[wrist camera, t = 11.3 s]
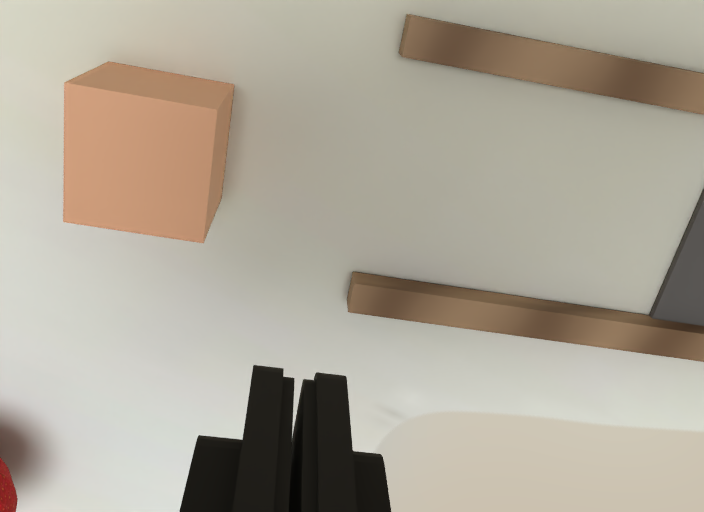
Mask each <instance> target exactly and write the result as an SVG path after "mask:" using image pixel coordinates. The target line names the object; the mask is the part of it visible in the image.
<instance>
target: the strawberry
mask: <svg viewBox="0 0 704 512" xmlns="http://www.w3.org/2000/svg"><path fill="white" fill-rule="evenodd" d="M16 506H17V495H16V490H15V487H14V484H13V481H12V478H11V475H10V472H9V469H8V467H7V466H6V464H5V463H4V462H3V460H2V459H1V458H0V512H16Z"/></svg>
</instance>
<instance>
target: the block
mask: <svg viewBox="0 0 704 512" xmlns="http://www.w3.org/2000/svg"><path fill="white" fill-rule="evenodd" d="M233 92H234V84H229V83H223V82H218V81H212V80H207V79H201V78H196V77H190V76H185V75H179V74H174V73H168V72H163V71H157V70H152V69H146V68H141V67H136V66H130V65H125V64H119V63H114V62H107V63H105V64H102V65H100V66H98V67H96V68H94V69H92V70H90V71H88V72H86V73H83V74H81V75H79V76H77V77H75V78H73V79H71V80H69V81H67V82H65V83H64V208H63V222H67V223H73V224H80V225H87V226H93V227H100V228H106V229H113V230H120V231H126V232H133V233H139V234H146V235H153V236H159V237H166V238H172V239H179V240H186V241H192V242H199V243H204V240H205V238H206V236H207V233H208V231H209V228H210V226H211V223H212V221H213V218H214V216H215V213H216V211H217V208H218V206H219V203H220V201H221V198H222V189H223V180H224V172H225V163H226V154H227V145H228V136H229V127H230V119H231V110H232V101H233Z"/></svg>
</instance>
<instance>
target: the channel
mask: <svg viewBox="0 0 704 512" xmlns="http://www.w3.org/2000/svg"><path fill="white" fill-rule="evenodd" d="M399 54H400V55H401V56H402V57H406V58H411V59H416V60H421V61H427V62H432V63H437V64H442V65H447V66H453V67H458V68H463V69H468V70H474V71H479V72H484V73H489V74H495V75H500V76H505V77H510V78H515V79H521V80H526V81H531V82H536V83H542V84H547V85H552V86H557V87H563V88H568V89H573V90H578V91H583V92H589V93H594V94H599V95H604V96H610V97H615V98H620V99H625V100H630V101H636V102H641V103H646V104H651V105H657V106H662V107H667V108H672V109H678V110H683V111H688V112H693V113H698V114H704V73H700V72H695V71H690V70H685V69H680V68H675V67H670V66H665V65H660V64H655V63H650V62H645V61H640V60H635V59H630V58H625V57H620V56H615V55H610V54H605V53H600V52H595V51H590V50H585V49H580V48H575V47H570V46H565V45H560V44H555V43H550V42H545V41H540V40H535V39H530V38H525V37H520V36H515V35H510V34H505V33H500V32H495V31H490V30H485V29H480V28H475V27H470V26H465V25H460V24H455V23H450V22H445V21H440V20H435V19H430V18H425V17H420V16H415V15H410V14H407V16H406V21H405V25H404V30H403V35H402V40H401V44H400V49H399ZM347 305H348V312H350V313H358V314H365V315H372V316H379V317H386V318H394V319H401V320H408V321H415V322H422V323H429V324H437V325H444V326H451V327H458V328H465V329H473V330H480V331H487V332H494V333H501V334H508V335H516V336H523V337H530V338H537V339H544V340H552V341H559V342H566V343H573V344H580V345H587V346H595V347H602V348H609V349H616V350H623V351H631V352H638V353H645V354H652V355H659V356H666V357H674V358H681V359H688V360H695V361H702V362H704V190H703V193H702V195H701V197H700V200H699V202H698V204H697V206H696V209H695V211H694V213H693V216H692V218H691V220H690V223H689V225H688V227H687V230H686V232H685V234H684V236H683V239H682V241H681V243H680V246H679V248H678V250H677V253H676V255H675V257H674V259H673V262H672V264H671V266H670V269H669V271H668V273H667V276H666V278H665V280H664V283H663V285H662V287H661V289H660V292H659V294H658V296H657V299H656V301H655V303H654V306H653V308H652V310H651V312H650V315H643V314H636V313H629V312H622V311H616V310H609V309H602V308H595V307H589V306H582V305H575V304H568V303H561V302H555V301H548V300H541V299H534V298H527V297H521V296H514V295H507V294H500V293H493V292H487V291H480V290H473V289H466V288H459V287H453V286H446V285H439V284H432V283H426V282H419V281H412V280H405V279H398V278H392V277H385V276H378V275H371V274H364V273H358V272H353V273H352V278H351V283H350V288H349V292H348V297H347Z"/></svg>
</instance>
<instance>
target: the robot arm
mask: <svg viewBox="0 0 704 512" xmlns="http://www.w3.org/2000/svg"><path fill="white" fill-rule="evenodd" d="M293 399H294V378H289V377H283V369H282V368H274V367H265V366H257V365H254V366H253V372H252V379H251V386H250V393H249V400H248V407H247V414H246V421H245V427H244V434H243V440H239V439H229V438H219V437H210V436H200V435H199V436H198V438H197V442H196V446H195V450H194V454H193V458H192V462H191V466H190V470H189V475H188V479H187V483H186V487H185V491H184V495H183V499H182V504H181V508H180V512H391V508H390V500H389V494H388V487H387V480H386V473H385V467H384V461H383V457H382V455H381V454H374V453H365V452H355V451H353V450H352V438H351V426H350V413H349V401H348V389H347V379H346V376H342V375H333V374H325V373H316V374H315V377H314V380H306V379H304V380H303V383H302V388H301V393H300V399H299V404H298V410H297V415H296V421H295V426H294V432H293V437H292V422H293Z"/></svg>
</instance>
